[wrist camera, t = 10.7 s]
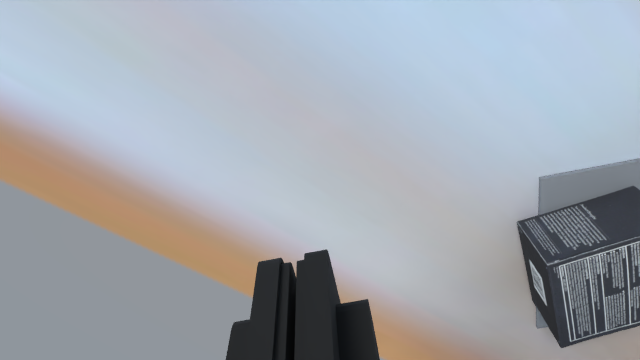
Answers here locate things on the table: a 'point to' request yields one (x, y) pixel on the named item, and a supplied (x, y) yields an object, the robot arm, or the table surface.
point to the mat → (584, 190)
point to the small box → (586, 266)
